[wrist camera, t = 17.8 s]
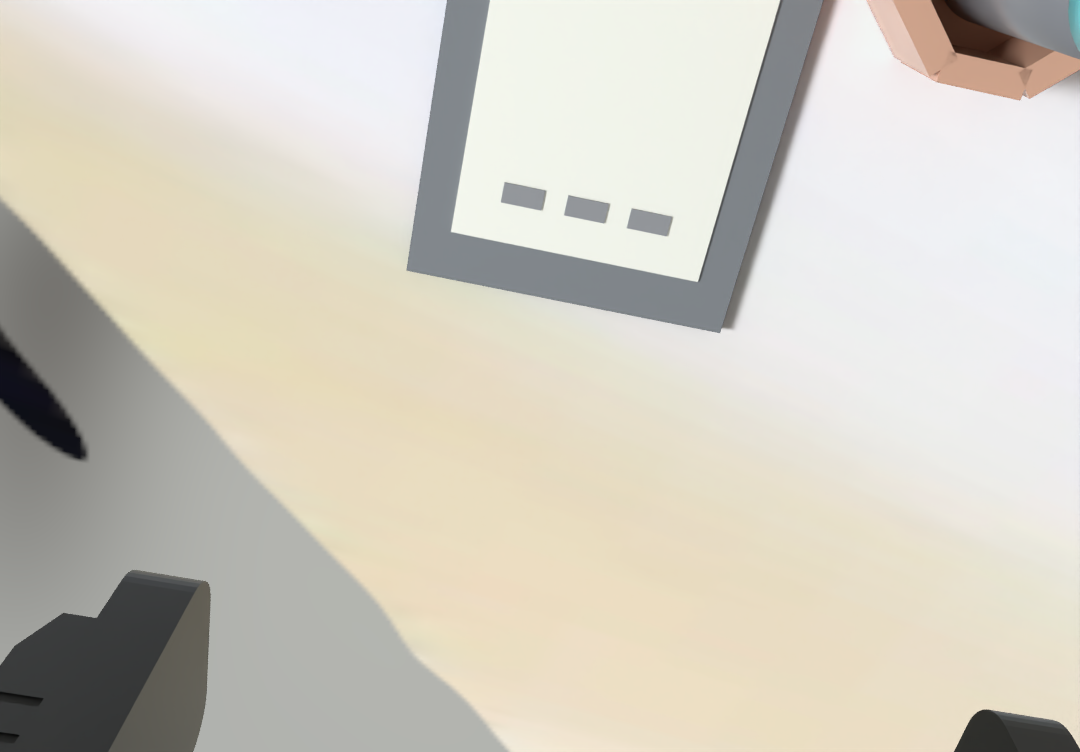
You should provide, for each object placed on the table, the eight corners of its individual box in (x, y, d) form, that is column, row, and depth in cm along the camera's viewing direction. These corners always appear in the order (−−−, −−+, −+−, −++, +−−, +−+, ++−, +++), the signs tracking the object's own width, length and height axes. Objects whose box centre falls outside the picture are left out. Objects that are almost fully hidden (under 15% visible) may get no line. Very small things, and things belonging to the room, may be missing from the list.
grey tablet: (480, -209, 33) (478, -211, 32) (857, -122, 34) (862, -122, 33) (408, 266, 40) (406, 271, 40) (718, 328, 41) (720, 334, 41)
